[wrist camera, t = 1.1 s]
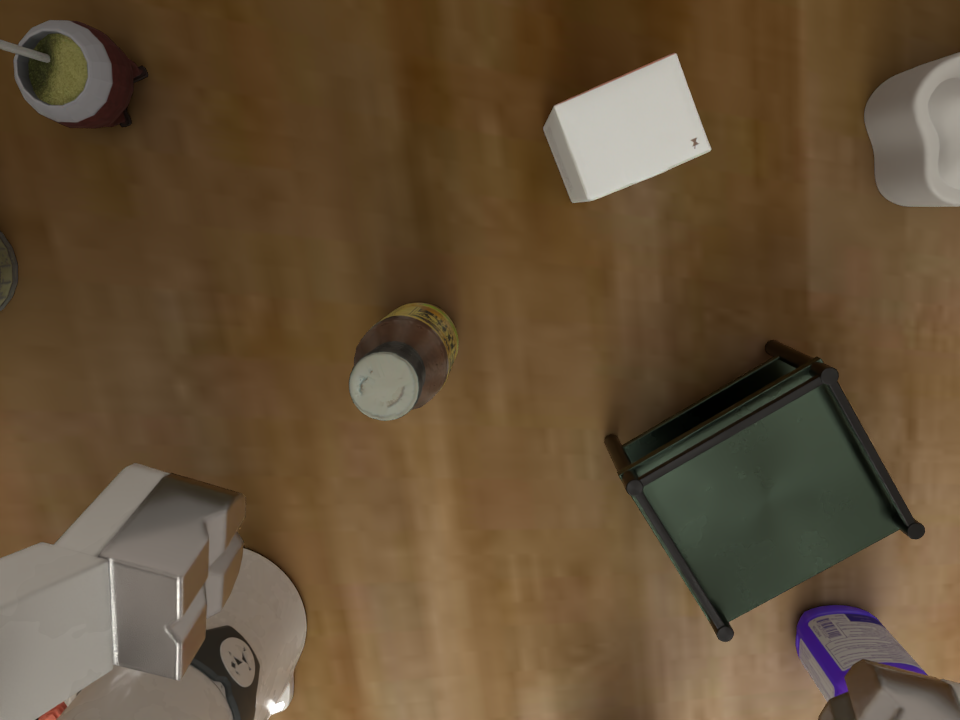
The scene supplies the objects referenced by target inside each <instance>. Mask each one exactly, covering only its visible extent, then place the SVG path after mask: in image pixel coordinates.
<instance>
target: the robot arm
mask: <svg viewBox="0 0 960 720" xmlns="http://www.w3.org/2000/svg"><path fill="white" fill-rule="evenodd" d="M245 517H246V497H245V496H244V495H243V494H242V493H239V492H235V491H232V490H228V489H225V488H222V487H218V486H215V485H211V484H208V483H205V482H201V481H198V480H194V479H191V478H188V477H184V476H181V475H177V474H174V473H167V472H164V471H160V470H157V469H154V468H151V467H147V466H144V465H141V464H137V463H134V464H132V465H130V466H127V467H125V468H124V469H123V470H122V471H121V472H120V473H119V474H118V475H117V476H116V477H115V478H114V479H113V481H112V482H111V483H110V484H109V485H108V486H107V487H106V488H105V489H104V490H103V491H102V493H101V494H100V495H99V496H98V497H97V498H96V499H95V500H94V501H93V502H92V503H91V504H90V506H89V507H88V508H87V509H86V510H85V511H84V512H83V513H82V514H81V515H80V516H79V518H78V519H77V520H76V521H75V522H74V523H73V524H72V525H71V526H70V527H69V528H68V529H67V531H66V532H65V533H64V534H63V535H62V536H61V537H60V538H59V539H58V540H57V541H56V543H55V544H54V545H52V544H48V543H44V542H41V543H38V544H36V545H33V546H30V547H28V548H25V549H23V550H20V551H18V552H15V553H13V554H10V555H7V556H5V557H2V558H0V720H268V719H269V717H270V716H271V715H273V714H276V713H279V712H281V711H284V710H285V709H286V708H287V707H288V705H289V704H290V702H291V700H292V698H293V693H294V676H293V673H294V669H295V666H296V664H297V662H298V659H299V657H300V655H301V653H302V650H303V647H304V644H305V639H306V631H307V623H306V614H305V609H304V606H303V603H302V600H301V598H300V595H299V593H298V591H297V590H296V588H295V586H294V585H293V583H292V582H291V580H290V579H289V578H288V577H287V576H286V574H285V573H284V572H283V571H282V570H281V569H280V568H278V567H277V566H276V565H275V564H274V563H272V562H271V561H269V560H268V559H266V558H265V557H263V556H261V555H259V554H257V553H255V552H253V551H250V550H248V549H245V548H243V547H244V541H243V540H242V538H241V537H240V535H239V534H238V532H237V530H238V528H239V527H240V525H241V524H242V522H243V520H244V519H245ZM844 678H845V682H846V685H847V688H848V692H845V693H843V694H840V695H838V696H836V697H833V698H831V699H829V700H828V702H827V704H826V705H825V707H824V709H823V710H822V712H821V714H820V715H819V718H818V720H960V683H956V682H953V681H949V680H945V679H938V678H936V677H932V676H928V675H924V674H920V673H916V672H913V671H909V670H905V669H901V668H897V667H893V666H889V665H885V664H881V663H878V662H874V661H870V660H866V659H862V660H860V661H858V662H856V663H855V664H853V665H852V667H851V668H850V669H849V671H848V672H847V674H846V675H845V677H844ZM40 716H41V717H40ZM39 717H40V718H39Z"/></svg>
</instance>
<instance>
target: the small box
mask: <svg viewBox="0 0 960 720" xmlns="http://www.w3.org/2000/svg"><path fill="white" fill-rule="evenodd" d="M543 130H544V133H545V135H546V138H547V140H548V143H549V146H550V148H551V151H552V153H553V156H554V158H555V161H556V164H557V166H558V169H559V171H560V174H561V176H562V179H563V182H564V184H565V187H566V189H567V192H568V195H569V197H570V200H571V202H572V203H577V202H587V201H593V200H596V199H598V198H601V197H603V196H606V195H608V194H611V193H613V192H616V191H618V190H621V189H623V188H626V187H628V186H631V185H633V184H636V183H638V182H641V181H643V180H646V179H648V178H651V177H653V176H656V175H658V174H661V173H663V172H665V171H667V170H669V169H671V168H673V167H675V166H678V165H680V164H682V163H685V162H687V161H689V160H691V159H694V158H696V157H698V156H701V155H703V154H705V153H707V152H709V151H711V147H710V144H709V142H708V139H707V136H706V134H705V131H704V129H703V126H702V123H701V121H700V118H699V115H698V113H697V110H696V107H695V104H694V102H693V99H692V96H691V93H690V91H689V88H688V85H687V82H686V79H685V77H684V74H683V71H682V68H681V66H680V63H679V60H678V57H677V54H676V53H672V54H670V55H667V56H665V57H663V58H660V59H658V60H656V61H653V62H651V63H649V64H647V65H644V66H642V67H639V68H637V69H635V70H633V71H630V72H628V73H626V74H624V75H621V76H619V77H617V78H614V79H612V80H610V81H608V82H605V83H603V84H601V85H599V86H596V87H594V88H592V89H590V90H587V91H585V92H583V93H581V94H578V95H576V96H573V97H571V98H569V99H567V100H565V101H563V102H560V103H558V104H556V105H554V107H553V109H552V111H551V113H550V115H549V117H548V119H547V121H546V123H545V125H544V127H543Z"/></svg>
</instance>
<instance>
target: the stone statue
mask: <svg viewBox="0 0 960 720" xmlns="http://www.w3.org/2000/svg"><path fill="white" fill-rule="evenodd" d="M17 283H18V264H17V260H16V257H15V254H14V251H13V248H12V246H11V245H10V243H9V242H8V240H7V239H6V237H5V236H4V234H3V233H2V232H1V231H0V311H1V310H3V309H4V307H5V306H6V305H7V304H8V302H9V301H10V300H11V298H12V297H13V295H14V292H15V289H16V286H17Z"/></svg>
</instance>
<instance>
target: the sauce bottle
mask: <svg viewBox="0 0 960 720" xmlns="http://www.w3.org/2000/svg"><path fill="white" fill-rule="evenodd" d="M458 343H459V340H458V334H457V330H456V327H455V325H454V323H453V321H452V320H451V319H450V317H449V316H448V315H447V314H446V313H445V312H444V311H443V310H442V309H441V308H440V307H438V306H436V305H433V304H428V303H409V304H406V305H403V306H401V307H399V308H397V309H395V310H394V311H393V312H391V313H390V314H388V315H387V316H386V317H384V318H383V319H382V320H380V321H379V322H377V323H376V324H375V325H374V326H373V327H371V328H370V330H369V331H368V332H367V333H366V334H365V335H364V337H363V338H362V339H361V341H360V343H359V344H358V346H357V348H356V353H355V357H354V367H353V369H352V372H351V374H350V378H349V391H350V395H351V397H352V400H353V403H354V404H355V405H356V407H357V408H358V409H359V410H360V411H361V412H362V413H363V414H365V415H367V416H368V417H371V418H373V419H377V420H383V421H387V420H394V419H398V418H400V417H402V416H404V415H405V414H407V413H408V412H409V411H410V410H412V409H416V408H420V407H422V406H423V405H424V404H426V403H427V402H428V401H430V400H431V399H432V398H433V397H434V396H435V395H436V394H437V393H438V392H439V391H440V390H441V389H442V387H443V386H444V384H445V382H446V380H447V377H448V375H449V372H450V370H451V367H452V365H453V363H454V360H455V358H456V355H457V352H458Z"/></svg>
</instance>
